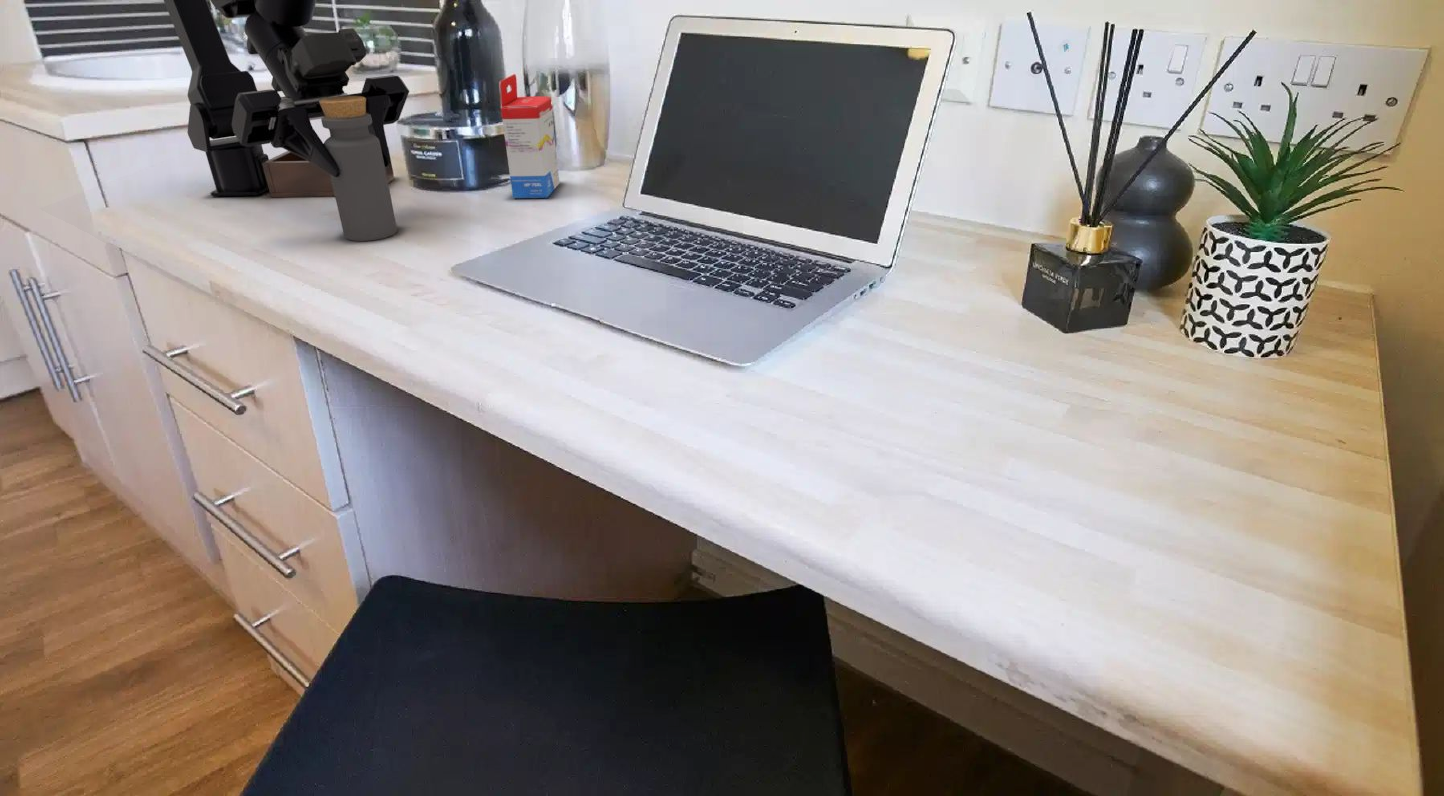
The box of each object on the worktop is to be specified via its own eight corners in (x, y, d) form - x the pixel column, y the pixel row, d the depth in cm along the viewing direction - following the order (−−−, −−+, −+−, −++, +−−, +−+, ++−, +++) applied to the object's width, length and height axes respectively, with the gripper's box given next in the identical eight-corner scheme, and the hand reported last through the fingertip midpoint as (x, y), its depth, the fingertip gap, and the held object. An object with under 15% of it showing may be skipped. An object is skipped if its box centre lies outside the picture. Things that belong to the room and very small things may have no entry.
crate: (270, 197, 114) (261, 162, 112) (300, 180, 122) (292, 148, 120) (371, 195, 114) (364, 161, 112) (394, 178, 122) (388, 146, 120)
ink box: (548, 198, 111) (535, 81, 104) (511, 199, 111) (496, 81, 104) (560, 183, 119) (549, 72, 112) (526, 183, 119) (512, 73, 112)
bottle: (403, 235, 97) (377, 99, 90) (351, 244, 94) (319, 104, 87) (390, 224, 102) (363, 93, 95) (339, 232, 99) (307, 98, 92)
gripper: (210, 7, 83) (292, 135, 81) (383, -2, 95) (456, 109, 94) (201, 86, 91) (276, 203, 90) (362, 68, 103) (429, 171, 102)
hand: (363, 169), depth 94 cm, fingers closed on bottle, 6 cm apart
